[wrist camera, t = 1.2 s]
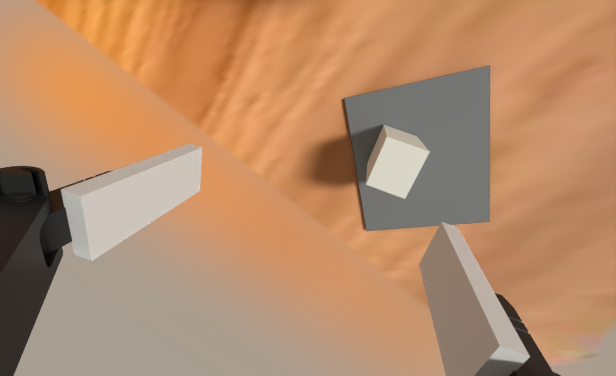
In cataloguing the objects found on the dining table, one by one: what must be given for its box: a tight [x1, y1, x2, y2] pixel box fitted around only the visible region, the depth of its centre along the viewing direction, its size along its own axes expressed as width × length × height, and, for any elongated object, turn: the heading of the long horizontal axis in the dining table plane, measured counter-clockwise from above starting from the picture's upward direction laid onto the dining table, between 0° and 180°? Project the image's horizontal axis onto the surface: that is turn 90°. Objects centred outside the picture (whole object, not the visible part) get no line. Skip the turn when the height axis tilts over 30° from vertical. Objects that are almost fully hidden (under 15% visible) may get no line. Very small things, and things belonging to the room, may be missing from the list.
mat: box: [344, 66, 490, 231], centre depth 32 cm, size 18×15×1 cm
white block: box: [366, 124, 430, 199], centre depth 28 cm, size 4×5×8 cm
